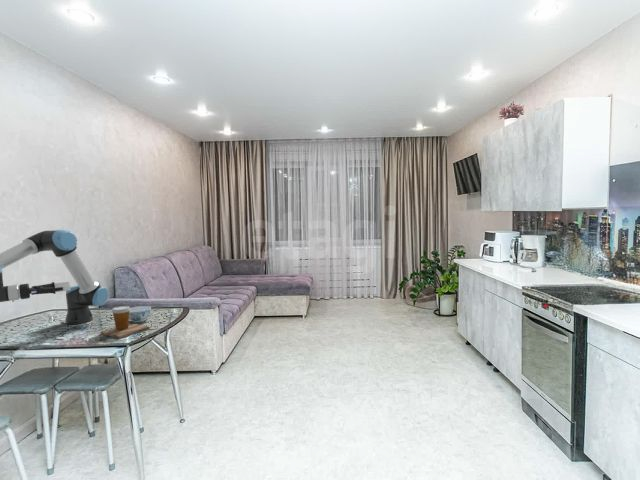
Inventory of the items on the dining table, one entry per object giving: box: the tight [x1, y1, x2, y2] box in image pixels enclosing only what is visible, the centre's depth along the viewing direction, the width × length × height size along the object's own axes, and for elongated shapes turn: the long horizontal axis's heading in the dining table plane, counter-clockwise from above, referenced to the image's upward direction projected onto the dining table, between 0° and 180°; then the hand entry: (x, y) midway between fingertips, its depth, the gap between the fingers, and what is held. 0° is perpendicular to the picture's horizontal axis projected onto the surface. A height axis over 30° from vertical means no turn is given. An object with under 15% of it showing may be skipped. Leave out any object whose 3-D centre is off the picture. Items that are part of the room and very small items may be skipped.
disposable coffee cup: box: [111, 305, 131, 330], centre depth 221 cm, size 10×10×12 cm
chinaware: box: [129, 305, 152, 324], centre depth 242 cm, size 15×15×8 cm
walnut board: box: [100, 322, 150, 339], centre depth 220 cm, size 18×18×2 cm
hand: (70, 285), depth 205 cm, fingers open, 13 cm apart
